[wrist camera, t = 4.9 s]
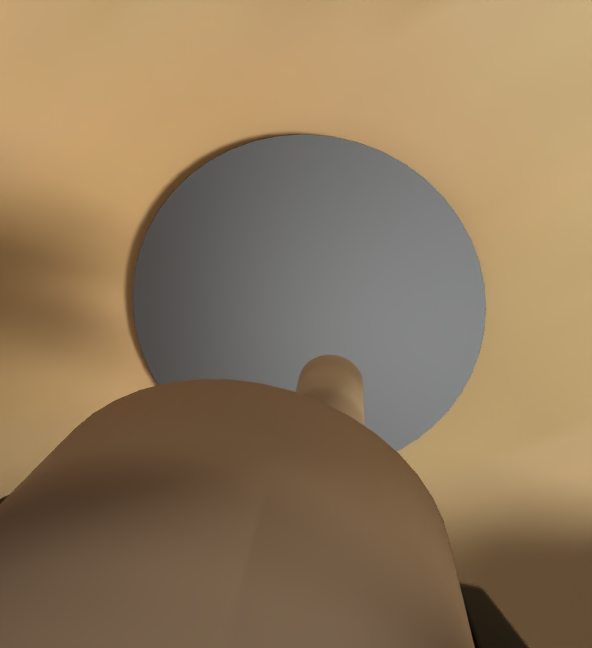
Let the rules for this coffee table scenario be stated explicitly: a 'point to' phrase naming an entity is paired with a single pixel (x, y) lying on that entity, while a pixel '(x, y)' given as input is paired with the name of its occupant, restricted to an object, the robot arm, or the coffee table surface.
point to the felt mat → (314, 278)
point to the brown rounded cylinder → (229, 527)
